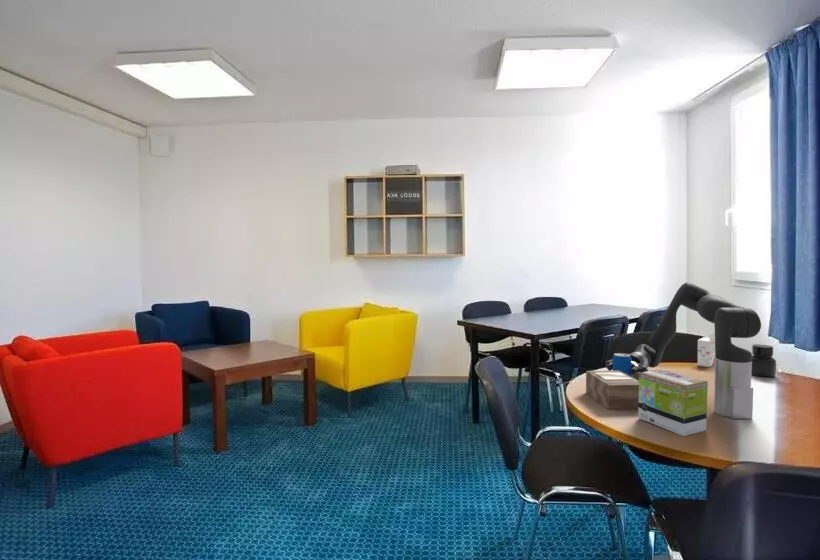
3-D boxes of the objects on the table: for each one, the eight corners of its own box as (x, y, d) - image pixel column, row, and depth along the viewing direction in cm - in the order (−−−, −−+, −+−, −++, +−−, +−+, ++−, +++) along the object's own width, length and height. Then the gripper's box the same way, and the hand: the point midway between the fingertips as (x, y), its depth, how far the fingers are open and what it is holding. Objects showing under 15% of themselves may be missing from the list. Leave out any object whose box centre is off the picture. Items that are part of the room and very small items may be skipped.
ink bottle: (781, 376, 185) (782, 347, 185) (769, 379, 181) (770, 349, 181) (754, 371, 194) (755, 342, 193) (742, 373, 190) (743, 344, 190)
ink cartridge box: (702, 362, 210) (703, 330, 209) (715, 364, 206) (716, 331, 206) (696, 365, 204) (697, 332, 204) (709, 367, 201) (710, 334, 200)
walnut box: (645, 408, 148) (645, 383, 148) (608, 409, 148) (609, 384, 147) (618, 392, 166) (619, 369, 166) (586, 392, 166) (586, 370, 165)
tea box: (636, 419, 139) (637, 371, 138) (659, 414, 143) (660, 367, 142) (683, 437, 125) (685, 384, 124) (707, 431, 129) (709, 379, 129)
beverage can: (635, 387, 172) (635, 355, 172) (622, 389, 170) (622, 357, 169) (621, 382, 178) (621, 352, 178) (608, 384, 176) (609, 353, 175)
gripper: (616, 350, 189) (601, 357, 177) (654, 355, 179) (640, 362, 167) (616, 368, 189) (601, 376, 178) (653, 374, 180) (640, 383, 168)
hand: (620, 369), depth 173 cm, fingers open, 8 cm apart
